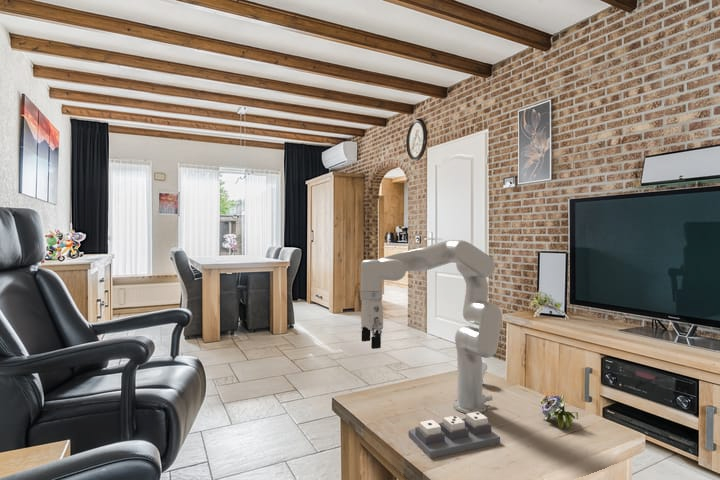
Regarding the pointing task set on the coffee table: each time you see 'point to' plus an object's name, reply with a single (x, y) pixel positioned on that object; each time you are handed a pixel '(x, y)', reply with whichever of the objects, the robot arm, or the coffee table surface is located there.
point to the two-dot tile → (476, 419)
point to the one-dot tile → (429, 427)
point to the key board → (454, 439)
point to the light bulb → (484, 369)
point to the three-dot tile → (453, 423)
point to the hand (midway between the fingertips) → (370, 344)
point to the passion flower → (557, 410)
